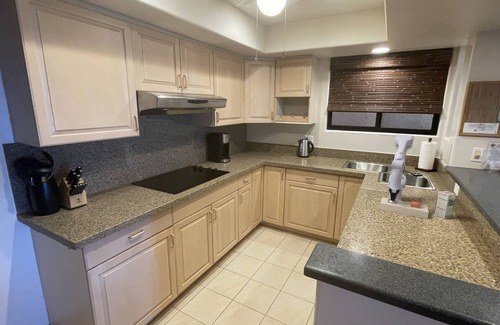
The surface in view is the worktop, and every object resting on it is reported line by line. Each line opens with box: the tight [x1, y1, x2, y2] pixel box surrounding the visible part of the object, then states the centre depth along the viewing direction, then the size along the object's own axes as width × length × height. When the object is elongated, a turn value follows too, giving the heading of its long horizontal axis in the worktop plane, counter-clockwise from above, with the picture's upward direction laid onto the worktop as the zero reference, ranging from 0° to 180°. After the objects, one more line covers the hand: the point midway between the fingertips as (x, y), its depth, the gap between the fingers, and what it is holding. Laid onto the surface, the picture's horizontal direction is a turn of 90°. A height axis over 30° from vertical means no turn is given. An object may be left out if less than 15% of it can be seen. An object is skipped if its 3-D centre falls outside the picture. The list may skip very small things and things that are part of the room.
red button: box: [410, 200, 422, 208], centre depth 145 cm, size 5×5×5 cm
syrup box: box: [434, 190, 457, 219], centre depth 140 cm, size 6×6×14 cm
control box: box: [379, 197, 430, 220], centre depth 149 cm, size 12×24×4 cm, turn 58°
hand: (392, 200), depth 151 cm, fingers closed, pressing on grey button
